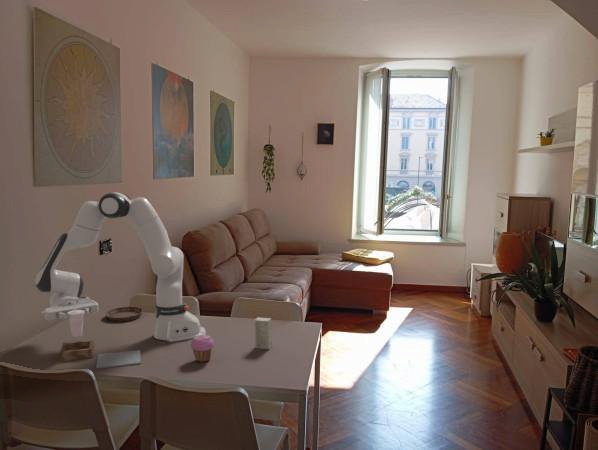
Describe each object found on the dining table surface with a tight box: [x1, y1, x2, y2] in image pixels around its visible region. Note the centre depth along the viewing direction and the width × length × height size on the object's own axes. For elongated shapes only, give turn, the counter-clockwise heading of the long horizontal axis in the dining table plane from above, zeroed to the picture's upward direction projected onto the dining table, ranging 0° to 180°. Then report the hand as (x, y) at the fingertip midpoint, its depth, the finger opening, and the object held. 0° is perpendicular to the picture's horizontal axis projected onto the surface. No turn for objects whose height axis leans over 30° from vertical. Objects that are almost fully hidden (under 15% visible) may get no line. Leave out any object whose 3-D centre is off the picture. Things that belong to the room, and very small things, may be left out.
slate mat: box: [95, 349, 142, 369], centre depth 205 cm, size 16×14×1 cm
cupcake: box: [190, 334, 215, 363], centre depth 204 cm, size 9×9×10 cm
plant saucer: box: [105, 306, 144, 322], centre depth 261 cm, size 18×18×3 cm
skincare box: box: [254, 316, 273, 350], centre depth 218 cm, size 6×4×12 cm
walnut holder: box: [59, 339, 95, 362], centre depth 210 cm, size 11×11×4 cm
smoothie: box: [67, 301, 85, 338], centre depth 209 cm, size 6×6×14 cm
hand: (76, 315), depth 208 cm, fingers closed on smoothie, 6 cm apart
